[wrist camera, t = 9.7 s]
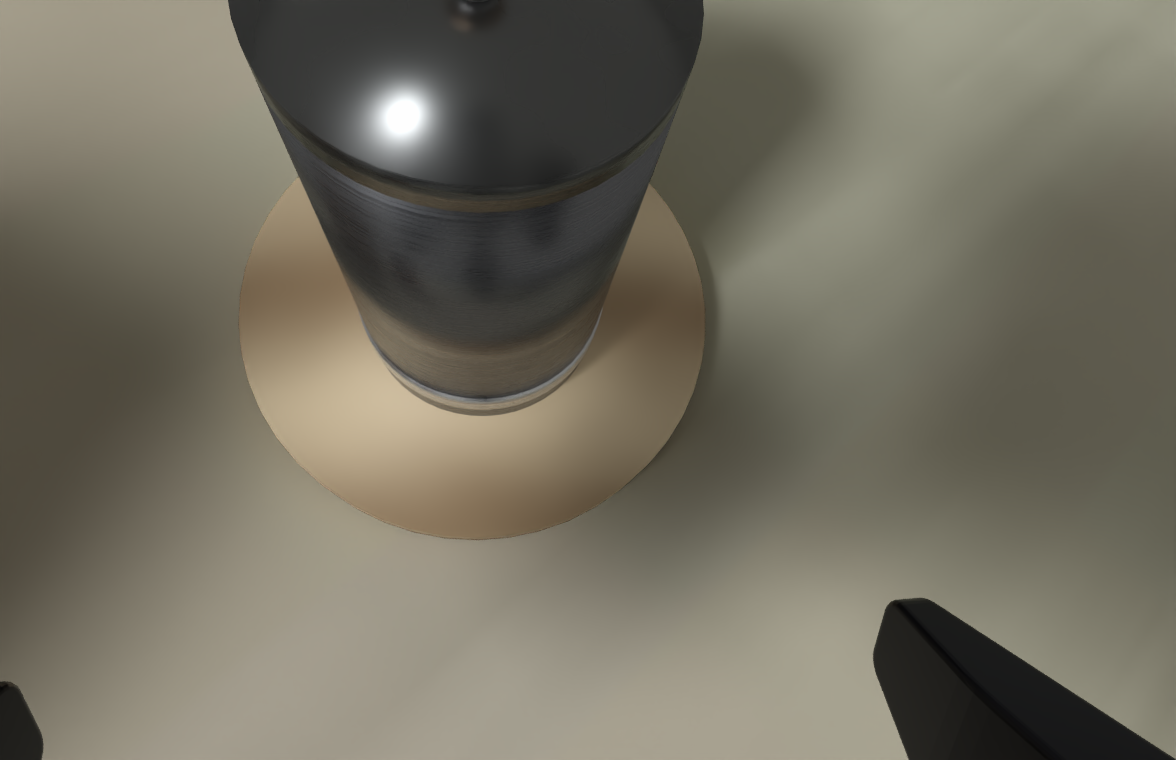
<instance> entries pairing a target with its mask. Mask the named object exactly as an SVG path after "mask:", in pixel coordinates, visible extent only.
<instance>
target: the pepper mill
mask: <svg viewBox="0 0 1176 760" xmlns="http://www.w3.org/2000/svg"><path fill="white" fill-rule="evenodd" d="M228 2H229V9H230V15H231V20H232V23H233V26H234V28H235V31H236V34H237V37H238V40H239V43H240V46H241V48H242V50H243V52H244V55H245V57H246V59H247V61H248V64H249V66H250V68H251V70H252V73H253V75H254V77H255V79H256V82H257V84H258V86H259V88H260V91H261V93H262V95H263V97H264V100H265V102H266V104H267V106H268V108H269V111H270V113H271V115H272V117H273V120H274V122H275V124H276V126H277V129H278V131H279V133H280V135H281V138H282V140H283V142H284V144H285V147H286V149H287V151H288V153H289V155H290V158H291V160H292V162H293V164H294V167H295V169H296V171H297V173H298V176H299V178H300V180H301V182H302V185H303V187H304V189H305V191H306V194H307V196H308V198H309V200H310V203H311V205H312V207H313V209H314V211H315V214H316V216H317V218H318V220H319V223H320V225H321V227H322V229H323V232H324V234H325V236H326V238H327V241H328V243H329V245H330V247H331V250H332V252H333V254H334V256H335V259H336V261H337V263H338V265H339V267H340V270H341V272H342V274H343V276H344V279H345V281H346V283H347V285H348V288H349V290H350V292H351V294H352V297H353V299H354V301H355V303H356V306H357V308H358V311H359V315H360V318H361V321H362V323H363V326H364V329H365V331H366V333H367V335H368V338H369V340H370V342H371V344H372V346H373V348H374V350H375V351H376V353H377V355H378V356H379V358H380V359H381V360H382V362H383V363H384V365H385V366H386V368H387V369H388V370H389V372H390V373H391V375H392V376H393V377H394V378H395V379H396V380H397V381H398V382H399V383H400V384H401V385H402V386H403V387H404V388H406V389H407V390H408V391H409V392H411V393H412V394H413V395H415V396H416V397H418V398H420V399H421V400H423V401H424V402H426V403H428V404H431V405H433V406H435V407H437V408H440V409H443V410H446V411H450V412H453V413H457V414H464V415H470V416H492V415H502V414H506V413H511V412H515V411H518V410H521V409H524V408H527V407H529V406H531V405H533V404H535V403H537V402H539V401H541V400H543V399H545V398H546V397H547V396H549V395H550V394H552V393H553V392H555V391H556V390H557V389H558V388H559V387H560V386H561V385H562V384H564V383H565V382H566V381H567V379H568V378H569V377H570V376H571V375H572V373H573V372H574V371H575V370H576V368H577V366H578V365H579V363H580V362H581V360H582V358H583V356H584V355H585V353H586V352H587V350H588V348H589V346H590V344H591V341H592V339H593V337H594V334H595V332H596V329H597V326H598V323H599V320H600V316H601V313H602V308H603V305H604V302H605V299H606V297H607V294H608V291H609V289H610V286H611V283H612V281H613V278H614V275H615V273H616V270H617V267H618V265H619V262H620V259H621V257H622V254H623V251H624V249H625V246H626V243H627V241H628V238H629V235H630V233H631V230H632V227H633V225H634V222H635V219H636V217H637V214H638V211H639V209H640V206H641V203H642V201H643V198H644V195H645V193H646V190H647V187H648V185H649V182H650V179H651V177H652V174H653V172H654V169H655V166H656V164H657V161H658V158H659V156H660V153H661V150H662V148H663V145H664V142H665V140H666V137H667V134H668V132H669V129H670V126H671V124H672V121H673V118H674V116H675V113H676V110H677V108H678V105H679V102H680V100H681V97H682V94H683V92H684V89H685V86H686V84H687V81H688V78H689V76H690V73H691V70H692V68H693V65H694V62H695V59H696V55H697V52H698V48H699V44H700V41H701V35H702V26H703V16H704V12H703V0H228Z"/></svg>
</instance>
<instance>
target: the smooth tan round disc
mask: <svg viewBox="0 0 1176 760" xmlns="http://www.w3.org/2000/svg"><path fill="white" fill-rule="evenodd" d="M239 333H240V343H241V354H242V358H243V362H244V366H245V370H246V373H247V377H248V381H249V384H250V387H251V389H252V392H253V394H254V396H255V399H256V401H257V404H258V406H259V408H260V411H261V413H262V414H263V416H264V418H265V419H266V421H267V422H268V424H269V426H270V427H271V429H272V431H273V432H274V434H275V436H276V437H277V439H278V440H279V441H280V442H281V444H282V445H283V446H284V447H285V448H286V450H287V451H288V452H289V453H290V454H291V456H292V457H293V458H294V459H295V461H296V462H297V463H298V464H299V465H300V466H301V467H303V468H304V469H305V470H306V471H307V472H308V473H309V474H310V475H311V476H312V477H314V478H315V479H316V480H317V481H318V482H319V483H320V484H321V485H323V486H324V487H325V488H327V489H328V490H330V491H331V492H333V493H334V494H336V495H337V496H339V497H340V498H341V499H343V500H344V501H346V502H347V503H349V504H350V505H352V506H353V507H355V508H356V509H358V510H360V511H362V512H364V513H366V514H368V515H370V516H373V517H375V518H377V519H379V520H381V521H383V522H385V523H388V524H391V525H394V526H397V527H400V528H403V529H406V530H409V531H412V532H415V533H420V534H426V535H431V536H436V537H441V538H449V539H467V540H485V539H498V538H510V537H514V536H519V535H524V534H529V533H533V532H538V531H541V530H544V529H547V528H550V527H553V526H555V525H558V524H561V523H564V522H567V521H569V520H571V519H573V518H575V517H577V516H579V515H581V514H583V513H585V512H587V511H589V510H591V509H593V508H595V507H596V506H598V505H599V504H600V503H602V502H603V501H605V500H606V499H608V498H609V497H611V496H612V495H613V494H615V493H616V492H618V491H619V490H620V489H622V488H623V487H624V486H625V485H626V484H627V483H628V482H629V481H631V480H632V479H633V478H634V477H635V476H636V475H637V474H638V473H639V472H640V471H641V470H643V469H644V468H645V467H646V466H647V465H648V464H649V463H650V462H651V460H652V459H653V458H654V457H655V456H656V454H657V453H658V452H659V451H660V450H661V448H662V447H663V446H664V445H665V443H666V442H667V441H668V439H669V438H670V436H671V435H672V433H673V431H674V430H675V428H676V426H677V425H678V423H679V422H680V420H681V418H682V417H683V415H684V412H685V410H686V408H687V405H688V403H689V401H690V399H691V396H692V394H693V392H694V389H695V385H696V382H697V378H698V375H699V371H700V368H701V364H702V357H703V350H704V342H705V304H704V297H703V290H702V283H701V279H700V276H699V272H698V268H697V265H696V261H695V258H694V255H693V253H692V250H691V248H690V246H689V243H688V241H687V239H686V236H685V234H684V232H683V230H682V228H681V227H680V225H679V223H678V222H677V220H676V218H675V216H674V215H673V213H672V211H671V210H670V208H669V207H668V206H667V204H666V203H665V202H664V200H663V199H662V198H661V197H660V195H659V194H658V193H657V191H656V190H655V189H654V188H653V187H652V186H651V184H650V183H649V185H648V187H647V190H646V193H645V195H644V198H643V201H642V203H641V206H640V209H639V211H638V214H637V217H636V219H635V222H634V225H633V227H632V230H631V233H630V235H629V238H628V241H627V243H626V246H625V249H624V251H623V254H622V257H621V259H620V262H619V265H618V267H617V270H616V273H615V275H614V278H613V281H612V283H611V286H610V289H609V291H608V294H607V297H606V299H605V302H604V305H603V308H602V313H601V316H600V320H599V323H598V326H597V329H596V332H595V334H594V337H593V339H592V341H591V344H590V346H589V348H588V350H587V352H586V353H585V355H584V356H583V358H582V360H581V362H580V363H579V365H578V366H577V368H576V370H575V371H574V372H573V373H572V375H571V376H570V377H569V378H568V379H567V381H566V382H565V383H564V384H562V385H561V386H560V387H559V388H558V389H557V390H556V391H555V392H553V393H552V394H550V395H549V396H547V397H546V398H545V399H543V400H541V401H539V402H537V403H535V404H533V405H531V406H529V407H527V408H524V409H521V410H518V411H515V412H511V413H506V414H502V415H492V416H470V415H464V414H457V413H453V412H450V411H446V410H443V409H440V408H437V407H435V406H433V405H431V404H428V403H426V402H424V401H423V400H421V399H420V398H418V397H416V396H415V395H413V394H412V393H411V392H409V391H408V390H407V389H406V388H404V387H403V386H402V385H401V384H400V383H399V382H398V381H397V380H396V379H395V378H394V377H393V376H392V375H391V373H390V372H389V370H388V369H387V368H386V366H385V365H384V363H383V362H382V360H381V359H380V358H379V356H378V355H377V353H376V351H375V350H374V348H373V346H372V344H371V342H370V340H369V338H368V335H367V333H366V331H365V329H364V326H363V323H362V321H361V318H360V315H359V311H358V308H357V306H356V303H355V301H354V299H353V297H352V294H351V292H350V290H349V288H348V285H347V283H346V281H345V279H344V276H343V274H342V272H341V270H340V267H339V265H338V263H337V261H336V259H335V256H334V254H333V252H332V250H331V247H330V245H329V243H328V241H327V238H326V236H325V234H324V232H323V229H322V227H321V225H320V223H319V220H318V218H317V216H316V214H315V211H314V209H313V207H312V205H311V203H310V200H309V198H308V196H307V194H306V191H305V189H304V187H303V185H302V182H301V180H300V178H299V177H298V178H297V179H296V180H295V181H294V182H293V183H292V184H291V185H290V186H289V187H288V189H287V190H286V191H285V192H284V193H283V195H282V196H281V198H280V199H279V200H278V202H277V203H276V205H275V206H274V207H273V209H272V210H271V212H270V213H269V215H268V216H267V218H266V220H265V222H264V224H263V226H262V228H261V230H260V232H259V234H258V236H257V237H256V239H255V242H254V245H253V248H252V251H251V253H250V256H249V259H248V262H247V265H246V268H245V273H244V278H243V283H242V288H241V293H240V307H239Z"/></svg>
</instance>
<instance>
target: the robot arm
mask: <svg viewBox="0 0 1176 760" xmlns="http://www.w3.org/2000/svg"><path fill="white" fill-rule="evenodd" d="M873 661H874V668H875V672H876V675H877V678H878V680H879V683H880V686H881V688H882V691H883V693H884V696H885V699H886V701H887V704H888V707H889V709H890V712H891V714H892V717H893V720H894V722H895V725H896V727H897V730H898V733H899V735H900V738H901V741H902V743H903V746H904V748H905V751H906V754H907V756H908V759H909V760H1176V759H1174V758H1173V757H1171V756H1170V755H1168V754H1167V753H1165V752H1164V751H1162V750H1160V749H1159V748H1157V747H1156V746H1154V745H1153V744H1151V743H1150V742H1148V741H1147V740H1145V739H1144V738H1142V737H1140V736H1139V735H1137V734H1136V733H1134V732H1133V731H1131V730H1130V729H1128V728H1127V727H1125V726H1124V725H1122V724H1120V723H1119V722H1117V721H1116V720H1114V719H1113V718H1111V717H1110V716H1108V715H1107V714H1105V713H1104V712H1102V711H1100V710H1099V709H1097V708H1096V707H1094V706H1093V705H1091V704H1090V703H1088V702H1087V701H1085V700H1084V699H1082V698H1080V697H1079V696H1077V695H1076V694H1074V693H1073V692H1071V691H1070V690H1068V689H1067V688H1065V687H1064V686H1062V685H1060V684H1059V683H1057V682H1056V681H1054V680H1053V679H1051V678H1050V677H1048V676H1047V675H1045V674H1044V673H1042V672H1040V671H1039V670H1037V669H1036V668H1034V667H1033V666H1031V665H1030V664H1028V663H1027V662H1025V661H1024V660H1022V659H1020V658H1019V657H1017V656H1016V655H1014V654H1013V653H1011V652H1010V651H1008V650H1007V649H1005V648H1003V647H1002V646H1000V645H999V644H997V643H996V642H994V641H993V640H991V639H990V638H988V637H987V636H985V635H983V634H982V633H980V632H979V631H977V630H976V629H974V628H973V627H971V626H970V625H968V624H967V623H965V622H963V621H962V620H960V619H959V618H957V617H956V616H954V615H953V614H951V613H950V612H948V611H947V610H945V609H943V608H942V607H940V606H939V605H937V604H936V603H934V602H932V601H930V600H928V599H925V598H912V599H901V600H894V601H891V602H890V603H889V604H888V605H887V607H886V609H885V612H884V616H883V619H882V623H881V626H880V630H879V633H878V637H877V640H876V644H875V648H874V653H873ZM42 754H43V739H42V734H41V732H40V729H39V727H38V725H37V723H36V721H35V719H34V717H33V715H32V713H31V711H30V709H29V707H28V705H27V703H26V701H25V699H24V697H23V695H22V693H21V691H20V689H19V688H18V686H16V685H14V684H13V683H11V682H6V681H3V682H0V760H41V759H42Z"/></svg>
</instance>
